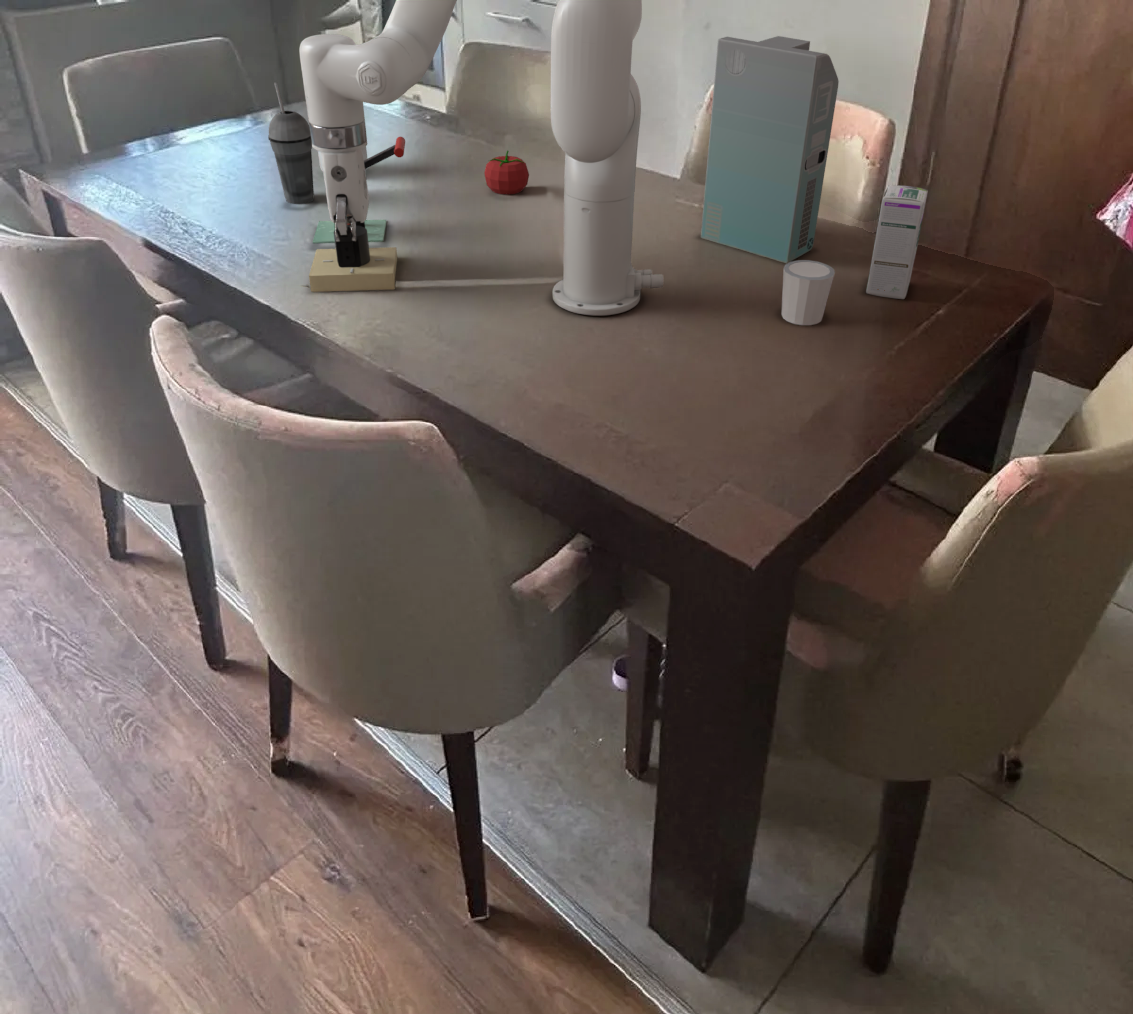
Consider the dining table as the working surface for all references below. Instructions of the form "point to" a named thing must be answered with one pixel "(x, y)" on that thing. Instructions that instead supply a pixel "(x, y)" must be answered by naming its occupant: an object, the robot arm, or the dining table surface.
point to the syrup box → (896, 241)
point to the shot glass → (805, 291)
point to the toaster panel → (354, 272)
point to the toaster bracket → (327, 229)
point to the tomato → (506, 174)
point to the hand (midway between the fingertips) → (353, 253)
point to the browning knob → (361, 244)
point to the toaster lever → (387, 153)
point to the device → (768, 145)
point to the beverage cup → (292, 154)
